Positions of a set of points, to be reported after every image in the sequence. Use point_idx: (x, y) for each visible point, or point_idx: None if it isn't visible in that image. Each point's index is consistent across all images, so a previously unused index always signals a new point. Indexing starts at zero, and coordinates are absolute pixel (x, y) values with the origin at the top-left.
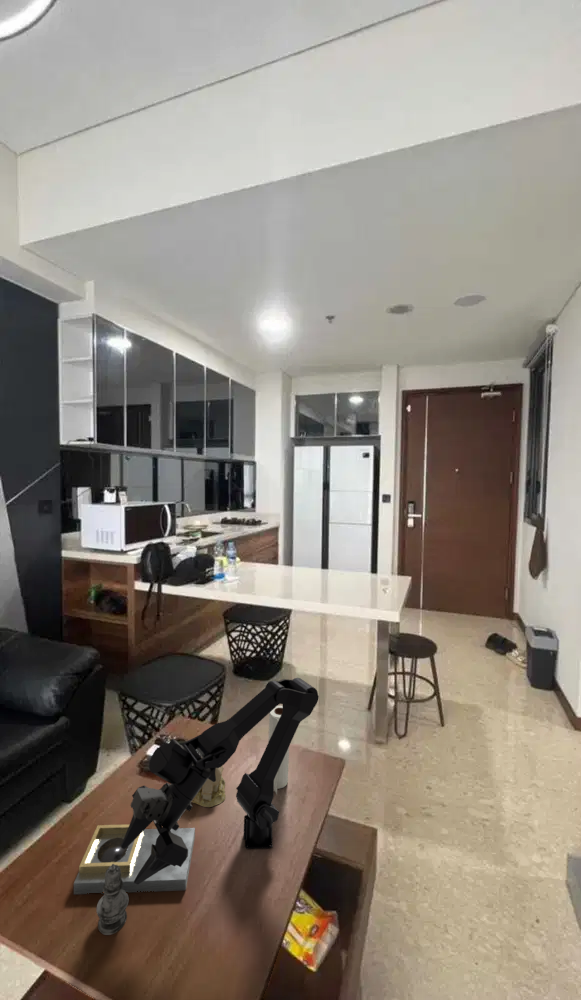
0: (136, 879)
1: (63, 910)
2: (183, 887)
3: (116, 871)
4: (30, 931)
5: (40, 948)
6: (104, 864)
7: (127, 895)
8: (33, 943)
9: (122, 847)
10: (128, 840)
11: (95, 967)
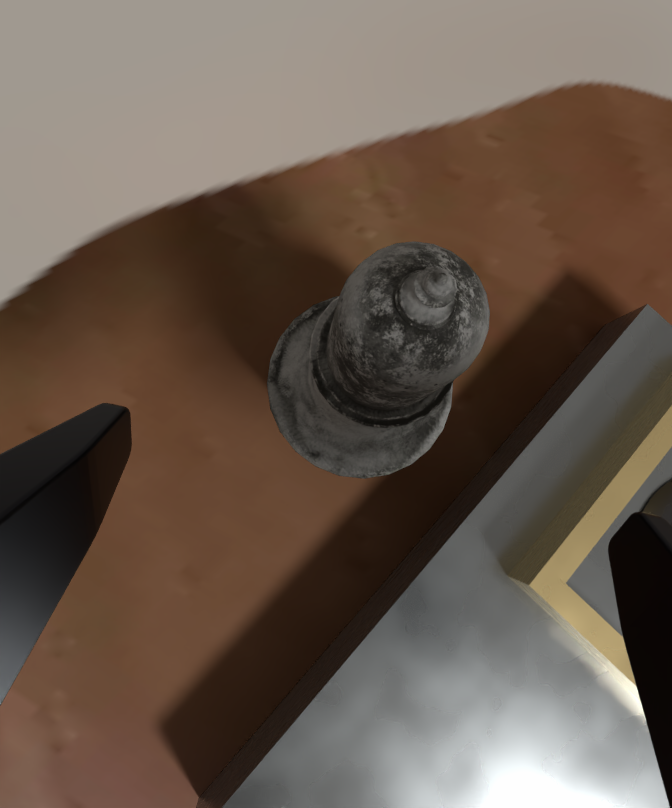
0: (78, 417)
1: (557, 262)
2: (206, 798)
3: (369, 315)
4: (556, 136)
5: (455, 136)
6: (644, 457)
7: (345, 472)
8: (496, 126)
9: (630, 524)
10: (663, 608)
11: (206, 254)
